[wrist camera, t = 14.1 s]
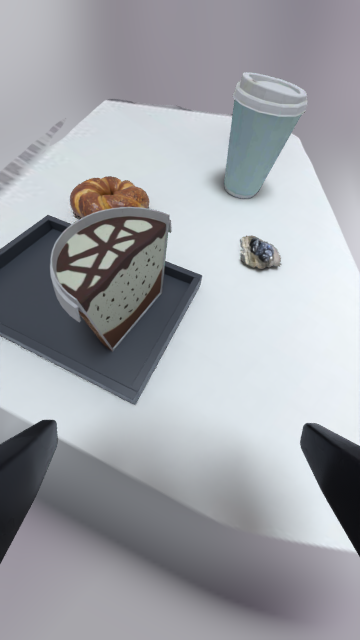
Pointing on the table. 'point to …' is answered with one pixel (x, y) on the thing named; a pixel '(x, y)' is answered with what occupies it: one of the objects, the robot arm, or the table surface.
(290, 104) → the disposable coffee cup
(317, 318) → the table surface
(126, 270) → the food container
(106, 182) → the pretzel
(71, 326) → the tray
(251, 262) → the crystal geode
